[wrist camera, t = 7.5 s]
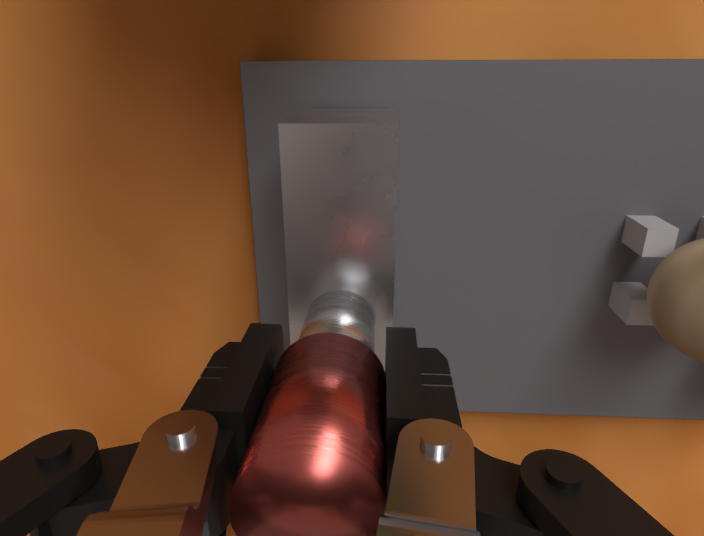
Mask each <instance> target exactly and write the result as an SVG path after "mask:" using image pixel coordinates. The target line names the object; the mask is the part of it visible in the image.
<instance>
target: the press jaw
mask: <svg viewBox="0 0 704 536" xmlns="http://www.w3.org/2000/svg"><path fill="white" fill-rule="evenodd" d="M278 131H279V149H280V167H281V184H282V202H283V220H284V238H285V256H286V274H287V292H288V310H289V328H290V346H289V347H288V348H287V349H286V350H285V351H284V353H283V354H282V355H281V357H280V359H279V361H278V363H277V366H276V369H275V371H274V374H273V377H272V380H271V383H270V385H269V388H268V391H267V394H266V396H265V399H264V402H263V405H262V407H261V410H260V413H259V416H258V418H257V421H256V424H255V427H254V429H253V432H252V435H251V438H250V440H249V443H248V446H247V449H246V452H245V454H244V457H243V460H242V463H241V465H240V468H239V471H238V474H237V476H236V479H235V482H234V485H233V487H232V490H231V493H230V496H229V502H228V514H229V519H230V523H231V525H232V528H233V530H234V532H235V533H236V535H237V536H376V533H377V528H378V523H379V519H380V516H381V515H384V514H385V509H386V504H387V462H386V375H385V351H386V327H393V308H394V274H395V241H396V208H397V174H398V141H399V122H398V118H397V114H396V110H395V108H307V109H305V110H303V111H301V112H299V113H297V114H295V115H293V116H291V117H289V118H288V119H286V120H284V121H282V122H280V123H278Z"/></svg>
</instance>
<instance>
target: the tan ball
mask: <svg viewBox="0 0 704 536" xmlns="http://www.w3.org/2000/svg"><path fill="white" fill-rule="evenodd" d="M647 307H648V312H649V315H650V318H651V320H652V322H653V324H654V326H655V328H656V330H657V331H658V332H659V334H660V335H661V336H662V337H663V339H664V340H666V341H667V342H668V343H669V344H670V345H671V346H672V347H674V348H675V349H676V350H678V351H679V352H681V353H683V354H685V355H687V356H689V357H691V358H693V359H696V360H699V361H702V362H704V238H703V239H699V240H695V241H692V242H689V243H687V244H685V245H683V246H681V247H679V248H677V249H676V250H674V251H673V252H671V253H670V254H669V255H668V256H666V257H665V258H664V259H663V260H662V261H661V263H660V264H659V265H658V266H657V268H656V269H655V271H654V273H653V274H652V277H651V279H650V281H649V285H648V289H647Z"/></svg>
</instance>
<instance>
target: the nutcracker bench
mask: <svg viewBox="0 0 704 536" xmlns="http://www.w3.org/2000/svg"><path fill="white" fill-rule="evenodd" d="M240 71H241V84H242V96H243V109H244V122H245V134H246V147H247V159H248V172H249V185H250V197H251V210H252V222H253V235H254V248H255V260H256V273H257V286H258V298H259V311H260V323H264V324H281V326H282V329H283V342H284V351H285V350H286V349H287V348H288V347H289V346H290V328H289V310H288V292H287V274H286V256H285V238H284V220H283V202H282V184H281V167H280V149H279V131H278V123H280V122H282V121H284V120H286V119H288V118H289V117H291V116H293V115H295V114H297V113H299V112H301V111H303V110H305V109H307V108H395V110H396V114H397V118H398V122H399V141H398V174H397V208H396V241H395V274H394V308H393V327H410V328H415V330H416V338H417V347H418V348H437V349H438V350H439V351H440V352H441V353H442V354H443V355H444V356H445V357H446V358H447V360H448V363H449V368H450V373H451V377H452V382H453V387H454V391H455V396H456V401H457V406H458V410H459V411H464V412H493V413H521V414H550V415H579V416H607V417H636V418H665V419H693V420H704V362H702V361H699V360H696V359H693V358H691V357H689V356H687V355H685V354H683V353H681V352H679V351H678V350H676V349H675V348H674V347H672V346H671V345H670V344H669V343H668V342H667V341H666V340H664V339H663V337H662V336H661V335H660V334H659V332H658V331H657V330H656V328H655V326H654V324H653V322H652V320H651V318H650V315H649V312H648V307H647V289H648V285H649V281H650V279H651V277H652V274H653V273H654V271H655V269H656V268H657V266H658V265H659V264H660V263H661V261H662V260H663V259H664V258H665V257H666V256H668V255H669V254H670V253H671V252H673V251H674V250H676V249H677V248H679V247H681V246H683V245H685V244H687V243H689V242H692V241H695V240H699V239H703V238H704V59H611V60H388V61H240Z"/></svg>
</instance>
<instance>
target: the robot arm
mask: <svg viewBox="0 0 704 536" xmlns="http://www.w3.org/2000/svg"><path fill="white" fill-rule="evenodd" d="M283 353H284V342H283V329H282V326H281V324H264V323H251V324H250V326H249V328H248V330H247V332H246V334H245V335H244V337H243V339H242V341H241V342H228V343H227V344H226V345H224V346H223V347H222V348H220V349H219V350H217V351H216V352H215V353H214V354H213V356H212V358H211V359H210V361H209V363H208V364H207V368H205V369H204V371H203V373H202V374H201V378H200V379H198V381H197V383H196V384H195V386H194V388H193V389H192V391H191V393H190V395H189V396H188V398H187V400H186V401H185V403H184V405H183V406H182V408H181V410H180V411H177V412H174V413H170V414H168V415H165V416H163V417H161V418H160V419H158V420H156V421H155V422H154V423H152V424H151V425H150V426H149V427H148V428H147V430H146V431H145V433H144V434H143V437H142V439H141V441H140V442H137V443H133V444H129V445H123V446H118V447H113V448H107V449H102V450H99V449H98V445H97V441H96V438H95V437H94V436H93V434H91V433H90V432H87V431H84V430H78V429H70V430H62V431H58V432H54V433H51V434H48V435H45V436H43V437H41V438H38V439H36V440H35V441H33V442H31V443H29V444H28V445H26V446H24V447H23V448H21V449H19V450H18V451H16V452H14V453H13V454H11V455H10V456H8V457H6V458H5V459H3V460H1V461H0V536H26V535H27V534H29V533H30V535H31V536H231V525H230V519H229V514H228V502H229V496H230V493H231V490H232V487H233V485H234V482H235V479H236V476H237V474H238V471H239V468H240V465H241V463H242V460H243V457H244V454H245V452H246V449H247V446H248V443H249V440H250V438H251V435H252V432H253V429H254V427H255V424H256V421H257V418H258V416H259V413H260V410H261V407H262V405H263V402H264V399H265V396H266V394H267V391H268V388H269V385H270V383H271V380H272V377H273V374H274V371H275V369H276V366H277V363H278V361H279V359H280V357H281V355H282V354H283ZM385 375H386V462H387V504H386V509H385V514H384V515H381V516H380V519H379V523H378V528H377V533H376V536H674V535H673V534H672V533H670V532H669V531H668V530H667V529H666V528H665V527H664V526H662V525H661V524H660V523H659V522H658V521H657V520H655V519H654V518H653V517H652V516H651V515H650V514H648V513H647V512H646V511H645V510H644V509H643V508H642V507H640V506H639V505H638V504H637V503H636V502H635V501H633V500H632V499H631V498H630V497H629V496H628V495H626V494H625V493H624V492H623V491H622V490H621V489H619V488H618V487H617V486H616V485H615V484H614V483H613V482H611V481H610V480H609V479H608V478H607V477H606V476H604V475H603V474H602V473H601V472H600V471H599V470H597V469H596V468H595V467H594V466H593V465H591V464H590V463H589V462H587V461H586V460H584V459H582V458H580V457H578V456H576V455H574V454H571V453H568V452H564V451H560V450H553V449H545V450H538V451H534V452H532V453H530V454H528V455H527V456H526V457H525V458H524V459H523V460H522V463H521V465H517V464H514V463H510V462H507V461H503V460H500V459H497V458H494V457H491V456H489V455H487V454H485V453H483V452H482V451H480V450H479V449H477V448H476V447H474V444H473V441H472V439H471V437H470V436H469V434H468V433H467V432H466V431H465V430H463V429H462V424H461V420H460V415H459V410H458V406H457V401H456V396H455V391H454V387H453V382H452V377H451V373H450V368H449V363H448V360H447V358H446V357H445V356H444V355H443V354H442V353H441V352H440V351H439V350H438V349H437V348H418V347H417V338H416V330H415V328H410V327H386V351H385Z"/></svg>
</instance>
